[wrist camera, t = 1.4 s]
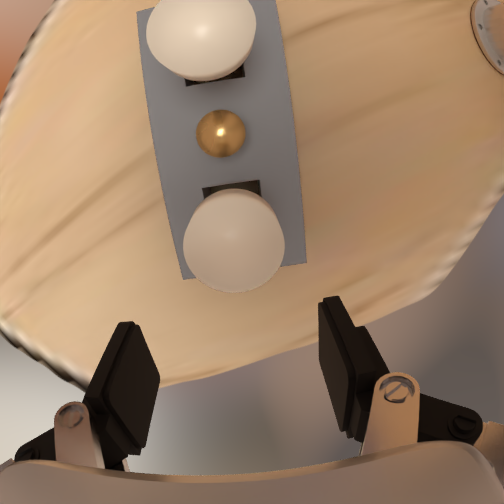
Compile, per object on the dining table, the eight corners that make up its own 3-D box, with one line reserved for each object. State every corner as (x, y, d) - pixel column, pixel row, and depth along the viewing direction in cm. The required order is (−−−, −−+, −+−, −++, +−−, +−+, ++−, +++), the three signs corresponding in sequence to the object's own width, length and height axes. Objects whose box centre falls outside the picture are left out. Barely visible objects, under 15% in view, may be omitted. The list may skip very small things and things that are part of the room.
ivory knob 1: (244, 18, 21) (248, -25, 13) (254, 84, 24) (263, 66, 15) (171, 31, 21) (142, -5, 13) (179, 96, 24) (152, 84, 15)
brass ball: (241, 108, 24) (241, 106, 21) (247, 149, 25) (248, 153, 22) (198, 115, 24) (192, 114, 21) (204, 156, 25) (200, 161, 22)
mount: (267, 10, 25) (273, -11, 19) (295, 240, 35) (306, 262, 30) (153, 28, 25) (136, 12, 20) (191, 254, 35) (183, 279, 30)
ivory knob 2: (266, 169, 27) (279, 192, 18) (274, 237, 29) (288, 285, 21) (193, 180, 27) (173, 207, 18) (206, 247, 29) (194, 298, 21)
